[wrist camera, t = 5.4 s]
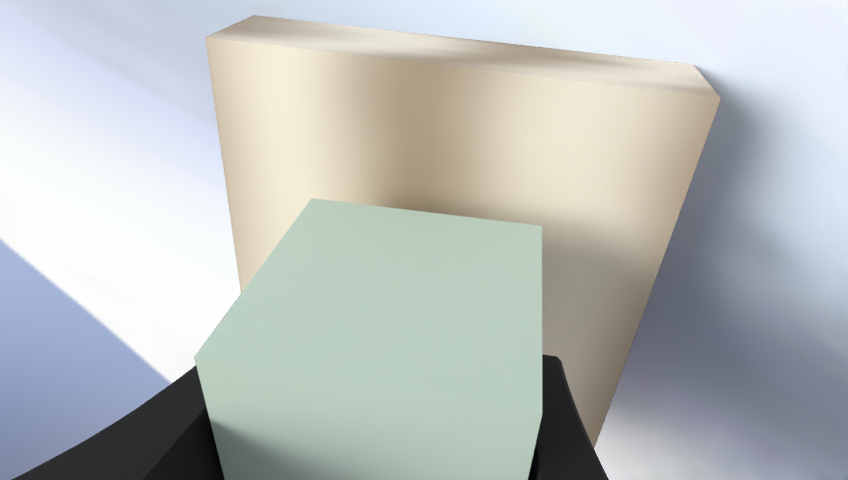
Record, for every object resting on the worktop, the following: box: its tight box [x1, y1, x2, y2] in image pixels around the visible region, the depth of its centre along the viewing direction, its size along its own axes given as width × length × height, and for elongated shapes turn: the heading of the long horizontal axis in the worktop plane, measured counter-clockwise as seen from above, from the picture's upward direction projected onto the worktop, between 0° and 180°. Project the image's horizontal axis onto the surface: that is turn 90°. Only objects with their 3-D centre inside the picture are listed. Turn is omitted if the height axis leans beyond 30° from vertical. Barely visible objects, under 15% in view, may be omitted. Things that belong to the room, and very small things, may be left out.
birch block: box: [205, 15, 721, 448], centre depth 16 cm, size 11×11×3 cm
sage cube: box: [194, 198, 542, 480], centre depth 11 cm, size 5×5×5 cm
